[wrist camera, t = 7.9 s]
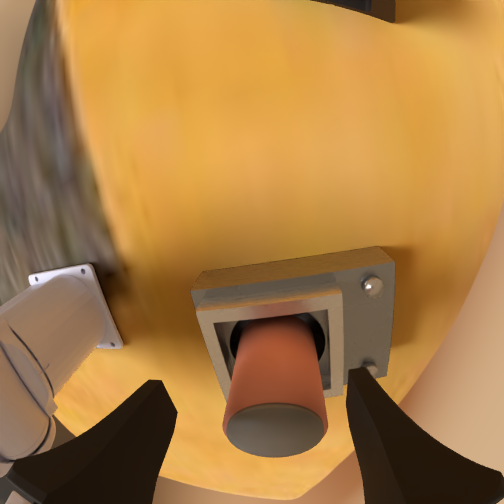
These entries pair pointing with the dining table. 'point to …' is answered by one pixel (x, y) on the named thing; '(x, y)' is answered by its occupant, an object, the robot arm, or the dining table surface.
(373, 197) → the dining table surface
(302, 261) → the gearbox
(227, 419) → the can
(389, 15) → the phone stand
